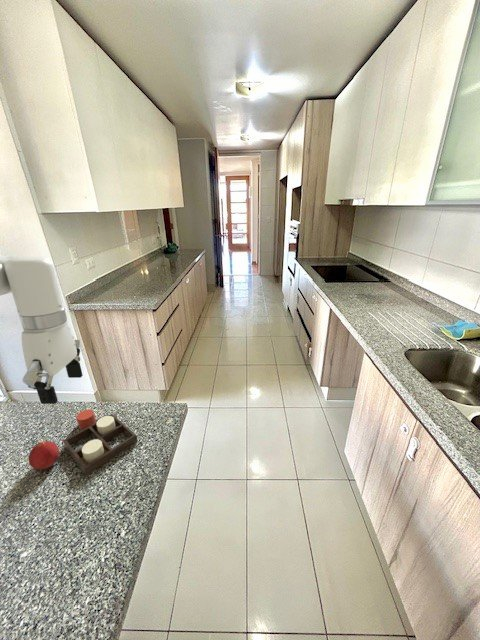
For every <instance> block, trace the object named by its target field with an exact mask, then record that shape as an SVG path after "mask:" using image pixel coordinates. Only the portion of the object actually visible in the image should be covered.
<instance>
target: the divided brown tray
mask: <svg viewBox="0 0 480 640" xmlns="http://www.w3.org/2000/svg"><path fill="white" fill-rule="evenodd" d="M108 416H112V417H113V418H114V421H115V426H116V428H115V429H113V430H111V431H109V432H108V433H106V434H104V435H103V436H100V435H99V434H98V429H97V425H96V423H97V421H96V423H94V424H93V425H91V426H89V427H87V428H85V429H81V430H80V431H78V432H76V433H74V434H73V435H71V436H69V437H66V438H65V439H64V440H62V442H63V447H64V449H65V450H66V451H67V453H68V454H69V455H70V456H71V458H72V459H73V460H74V461H75V464H77V466H78V467H79V468H80V469H81V471H82V472H83V473H84V474H85V476H86V477H87V476H89V475H91V474H92V473H94V472H95V471H96V470H98V469H100V468H101V467H102V466H105V464H107V463H108V462H110V461H111V460H113V459H114V458H116V457H117V456H119V455H120V454H122V453H123V452H124V451H126V450H128V449H129V448H130V447H132V446H134V445H135V444H137V443H138V437H137V434H136V433H134V431H133V430H132V429H130V428H129V427H128V426H127V425H125V423H124V422H122V421H121V420H120V419H118V418H117V416H115V415H114V414H113V413H110V414H109V415H108ZM123 433H124V434H125V435H126V436H127V437H128V438H127V439H125V440H123V441H121V442H120V443H119V444H117V445H115V446H114V447H113V448H112V447H111V445H110V444H109V443H108V442H110V441H112V440H113V439H115V438H117V437H118V436H120V435H121V434H123ZM89 436H91V437H92V438H93V440H95V439H98V440H101V441H102V445H103V449H104V453H105V454H104V455H102V456H100V457H99V458H97V459H96V460H94V461H93V462H91V463H90V464H88V465H86V464H85V461H84V457H83V454H82V447H81V448H79V449H77V450H74V448H73V447H72V446H74V445H75V444H77V443H79V442H80V441H82V440H84V439H86V438H87V437H89Z"/></svg>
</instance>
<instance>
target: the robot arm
mask: <svg viewBox="0 0 480 640" xmlns="http://www.w3.org/2000/svg"><path fill="white" fill-rule="evenodd" d="M58 280H59V279H58V275H57V271H56V268H55V264H54V262H53V261H52V260H51V259H50V258H49V257H43V256H25V257H24V256H23V257H18V256H12V255H7V254H5V255H4V254H0V296H4V295H7V294H10V293H11V294H12V297H13V301H14V304H15V307H16V310H17V313H18V316H19V319H20V323H21V327H22V330H23V331H22V332H21V349H22V353H23V354H22V355H23V359H24V363H25V366H26V370H27V371H26V372H25V373H24V375H23V378H22V382H23V383H24V384H25V385H26V386H27V387H28V388H29V389H33V390H36V393H37V396H38V399H39V401H40V403H41V404H42V405H55V404H57V403H58V402H59V401H58V400H59V399H58V396H57V393H56V390H55V386H54V385H52V382H53V379H54V376H55V375H57V374H58V373H59V372H60V371H62V370H63V369H64V368H65V369H66V375H67V377H68V378H71V379H73V378H74V379H75V378H78V379H79V378H80V379H81V378H82V377H83V372H82V367H81V363H80V362H81V357H80V354H81V348H80V347H81V340H80V339H75V337H74V333H73V330H72V328H71V325H70V324H69V321H68V317H67V313H66V309H65V305H64V301H63V297H62V293H61V288H60V285H59V281H58ZM43 378H45V380H44V381H42V379H43Z"/></svg>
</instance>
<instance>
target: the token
mask: <svg viewBox="0 0 480 640" xmlns="http://www.w3.org/2000/svg"><path fill="white" fill-rule="evenodd" d="M96 422H97V423H96V425H97V429H98V431H97V433H98V434H99V435H100V436H103V435H104V434H106V433H108V432H109V431H111V430H113V429H115V428H116V427H117V426H116V425H115V421H114V418H113V417H112V416H109V415H105V416H102V417H100V418H99V419H98V420H96Z"/></svg>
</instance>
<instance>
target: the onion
mask: <svg viewBox="0 0 480 640" xmlns="http://www.w3.org/2000/svg"><path fill="white" fill-rule="evenodd" d="M59 456H60V448H59V446H58V444H55V442H52V441H43V440H40V441H38V443H37V444H36V445H34V447H33V448H32V449H31V450H30V453H29V454H28V463H29V464H28V465H29V466H30V467H31V468H32V469H35V470H46V469H48V468H50V467H52V466H53V465H54V464H55V463H56V462H57V461H58V458H59Z"/></svg>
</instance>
